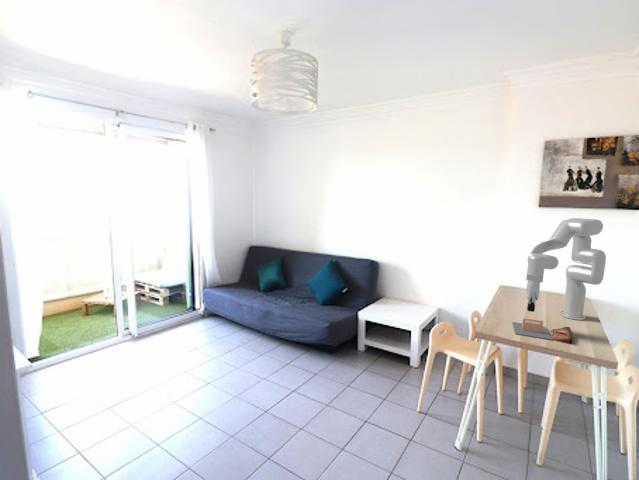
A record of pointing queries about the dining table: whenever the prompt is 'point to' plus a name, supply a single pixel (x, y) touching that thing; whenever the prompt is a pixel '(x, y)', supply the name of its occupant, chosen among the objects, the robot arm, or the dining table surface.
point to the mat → (531, 332)
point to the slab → (532, 324)
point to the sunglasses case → (562, 335)
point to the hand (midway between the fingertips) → (530, 310)
